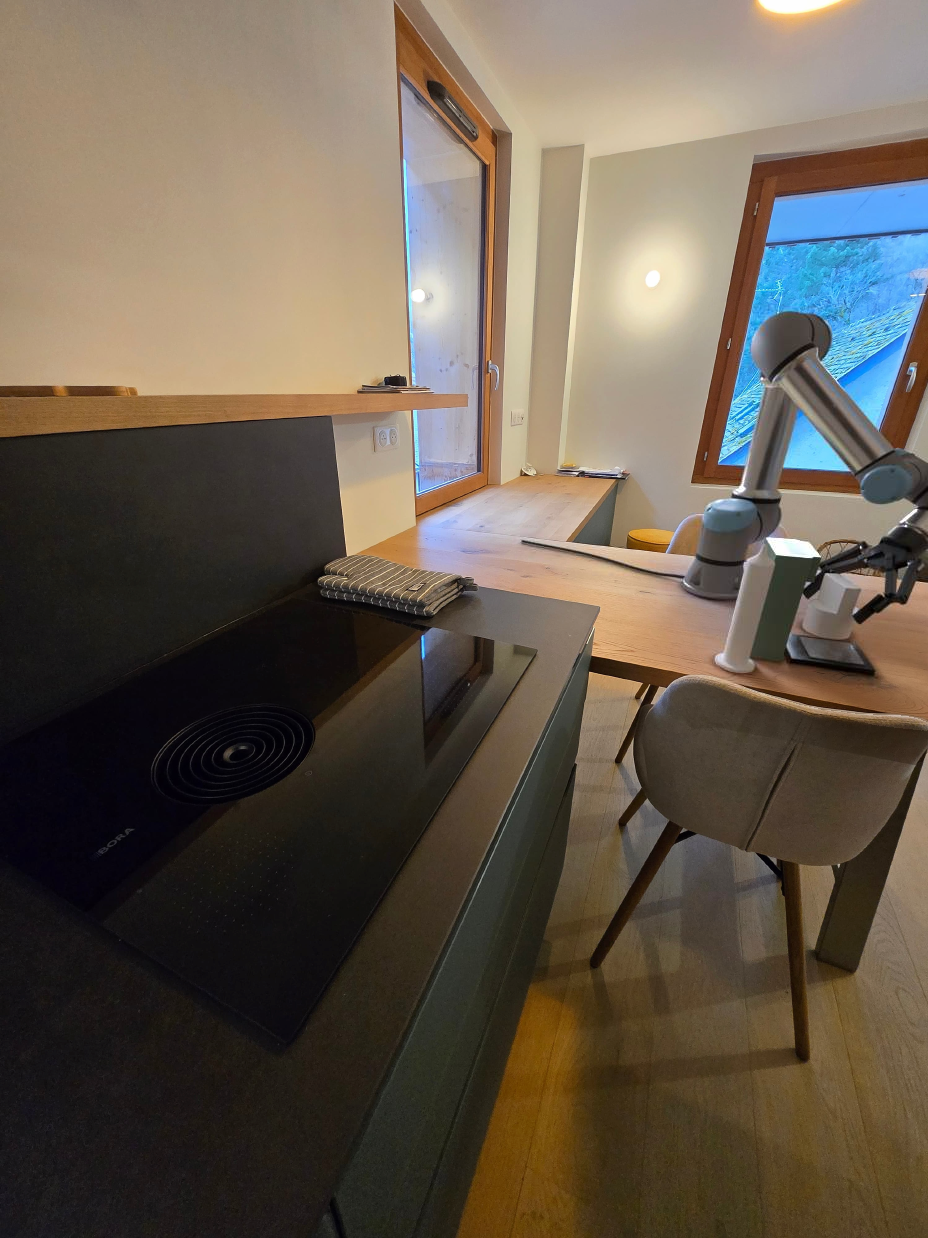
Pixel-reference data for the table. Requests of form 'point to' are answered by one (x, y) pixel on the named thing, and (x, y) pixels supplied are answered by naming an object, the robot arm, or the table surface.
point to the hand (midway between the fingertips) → (828, 607)
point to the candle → (747, 614)
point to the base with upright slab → (833, 608)
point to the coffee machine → (780, 609)
